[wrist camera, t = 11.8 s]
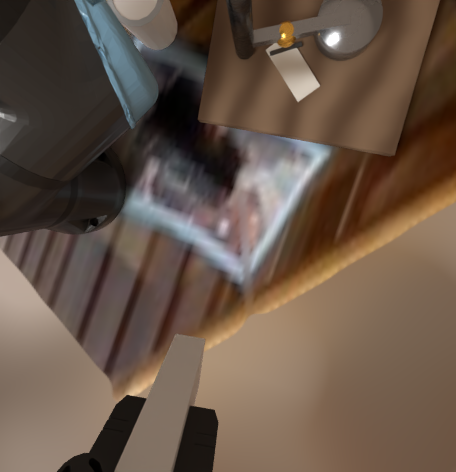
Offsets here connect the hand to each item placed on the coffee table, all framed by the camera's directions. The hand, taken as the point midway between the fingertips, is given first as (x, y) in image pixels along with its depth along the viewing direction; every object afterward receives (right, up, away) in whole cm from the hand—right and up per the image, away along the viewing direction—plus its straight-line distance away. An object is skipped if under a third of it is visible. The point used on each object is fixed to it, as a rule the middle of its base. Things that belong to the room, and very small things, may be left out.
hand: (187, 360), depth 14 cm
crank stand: (+13, +29, +23) cm, 39 cm away
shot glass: (-8, +35, +24) cm, 43 cm away
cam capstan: (+11, +31, +20) cm, 38 cm away
